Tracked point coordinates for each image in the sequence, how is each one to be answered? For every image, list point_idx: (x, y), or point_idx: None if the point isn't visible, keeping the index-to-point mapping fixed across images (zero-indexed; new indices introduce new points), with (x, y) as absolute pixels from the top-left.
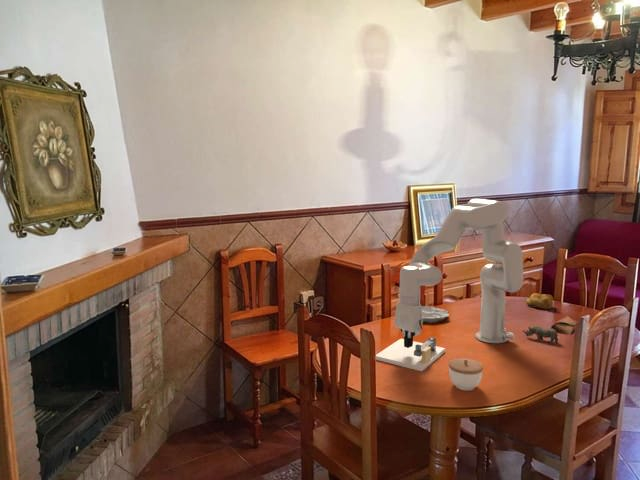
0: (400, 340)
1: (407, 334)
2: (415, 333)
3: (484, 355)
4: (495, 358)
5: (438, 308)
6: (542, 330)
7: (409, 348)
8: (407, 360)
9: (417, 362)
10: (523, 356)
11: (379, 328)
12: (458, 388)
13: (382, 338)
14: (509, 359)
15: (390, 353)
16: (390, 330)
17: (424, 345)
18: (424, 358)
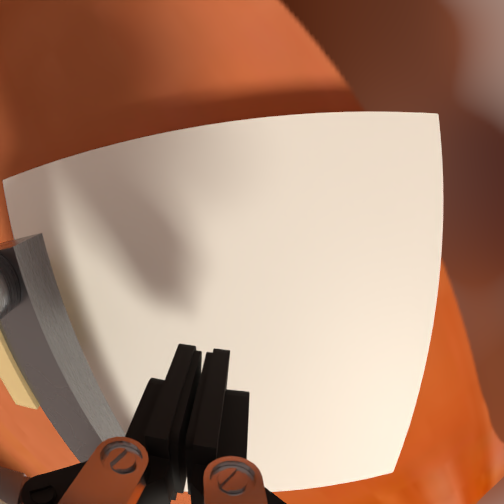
0: (386, 459)
1: (195, 499)
2: (12, 488)
3: (44, 472)
4: (16, 460)
5: None
6: None
7: (278, 421)
8: (135, 212)
9: (60, 233)
10: None
11: (494, 462)
12: None
13: (478, 423)
14: (2, 460)
15: (357, 250)
16: (456, 481)
17: (70, 423)
18: None
